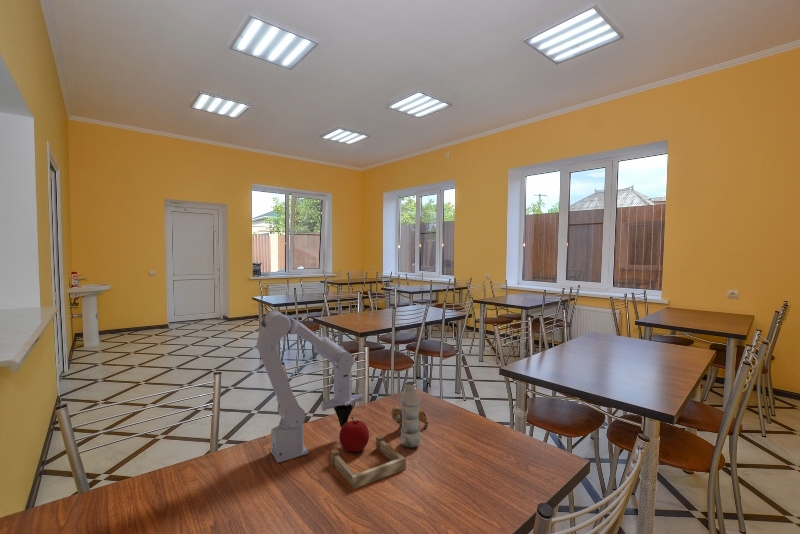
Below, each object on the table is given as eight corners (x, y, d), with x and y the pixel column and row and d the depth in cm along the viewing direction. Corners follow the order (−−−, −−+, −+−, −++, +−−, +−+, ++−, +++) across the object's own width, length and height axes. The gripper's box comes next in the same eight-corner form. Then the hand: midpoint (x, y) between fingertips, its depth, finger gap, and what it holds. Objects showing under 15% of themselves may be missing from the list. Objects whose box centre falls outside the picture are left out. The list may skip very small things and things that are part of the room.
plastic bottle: (421, 440, 124) (420, 380, 123) (420, 451, 117) (420, 387, 116) (401, 439, 124) (401, 379, 124) (399, 450, 118) (399, 386, 117)
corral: (352, 489, 98) (352, 475, 98) (330, 463, 110) (330, 451, 110) (406, 468, 108) (406, 455, 107) (381, 447, 120) (381, 435, 119)
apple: (341, 458, 113) (340, 425, 113) (338, 444, 122) (337, 413, 121) (371, 454, 115) (371, 422, 115) (366, 440, 124) (366, 410, 124)
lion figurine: (395, 437, 126) (395, 410, 126) (388, 430, 131) (388, 405, 130) (432, 427, 133) (432, 402, 133) (424, 421, 138) (424, 397, 137)
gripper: (326, 394, 118) (327, 437, 118) (367, 385, 126) (368, 425, 126) (318, 387, 123) (318, 428, 124) (357, 379, 131) (358, 417, 132)
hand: (343, 426), depth 125 cm, fingers closed
